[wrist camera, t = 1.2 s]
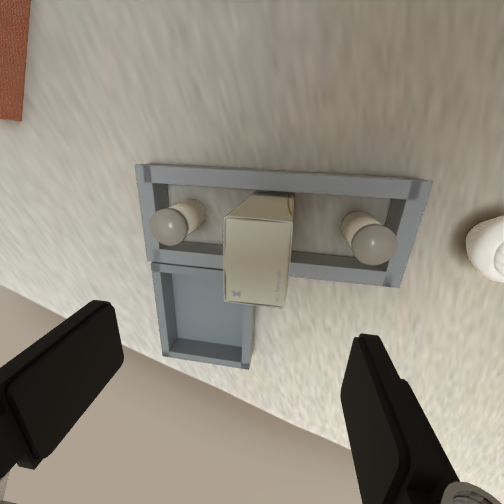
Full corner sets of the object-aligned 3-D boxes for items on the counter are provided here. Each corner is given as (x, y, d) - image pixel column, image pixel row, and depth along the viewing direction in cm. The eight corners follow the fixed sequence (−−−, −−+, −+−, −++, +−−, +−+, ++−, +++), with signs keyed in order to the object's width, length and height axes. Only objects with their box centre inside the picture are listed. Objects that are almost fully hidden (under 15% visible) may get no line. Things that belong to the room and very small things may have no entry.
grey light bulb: (205, 199, 27) (183, 211, 21) (206, 228, 28) (186, 247, 23) (176, 197, 27) (147, 208, 22) (178, 226, 29) (151, 243, 23)
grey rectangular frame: (416, 177, 23) (432, 181, 20) (388, 274, 27) (399, 288, 24) (151, 163, 26) (134, 164, 24) (160, 251, 30) (147, 261, 27)
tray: (257, 261, 29) (253, 274, 26) (252, 350, 34) (249, 369, 31) (164, 252, 30) (150, 263, 27) (173, 339, 35) (162, 356, 32)
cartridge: (378, 211, 25) (403, 228, 19) (370, 243, 26) (391, 267, 20) (343, 208, 25) (357, 224, 20) (337, 240, 26) (349, 263, 21)
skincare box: (288, 248, 28) (286, 312, 16) (249, 244, 28) (222, 304, 17) (294, 191, 25) (297, 221, 14) (252, 188, 26) (221, 216, 15)
